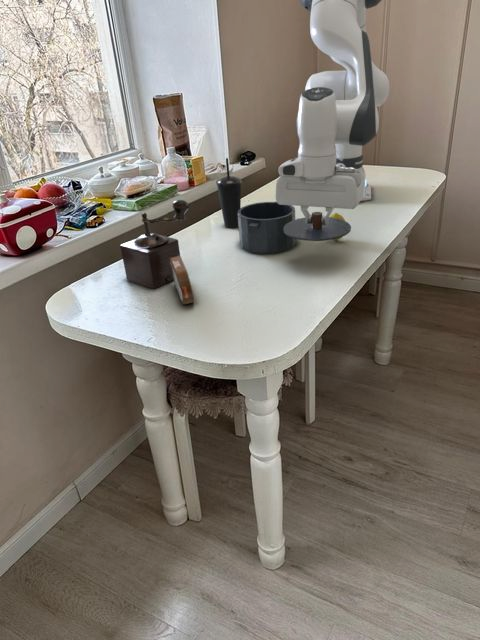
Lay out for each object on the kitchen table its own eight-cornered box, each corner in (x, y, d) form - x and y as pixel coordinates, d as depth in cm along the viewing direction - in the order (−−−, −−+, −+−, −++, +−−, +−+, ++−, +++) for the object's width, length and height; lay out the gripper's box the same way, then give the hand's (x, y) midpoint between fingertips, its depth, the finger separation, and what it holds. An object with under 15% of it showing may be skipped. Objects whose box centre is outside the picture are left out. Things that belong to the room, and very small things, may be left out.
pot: (227, 255, 145) (224, 221, 140) (255, 229, 162) (253, 197, 157) (282, 260, 140) (281, 225, 135) (305, 232, 157) (304, 200, 152)
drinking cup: (230, 220, 170) (224, 154, 159) (249, 223, 166) (245, 156, 155) (215, 227, 165) (208, 160, 154) (234, 231, 161) (229, 162, 150)
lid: (274, 240, 129) (273, 222, 127) (295, 218, 142) (294, 201, 140) (342, 246, 124) (342, 226, 121) (357, 223, 137) (357, 205, 134)
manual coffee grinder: (155, 290, 128) (142, 217, 119) (125, 280, 134) (111, 209, 125) (200, 268, 139) (191, 198, 129) (170, 259, 145) (160, 192, 135)
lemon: (344, 245, 147) (345, 216, 143) (324, 244, 148) (324, 216, 144) (346, 237, 152) (347, 210, 147) (326, 237, 153) (326, 209, 148)
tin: (196, 308, 119) (191, 274, 115) (182, 311, 119) (176, 276, 114) (185, 282, 132) (180, 249, 127) (172, 284, 131) (167, 251, 126)
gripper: (364, 164, 124) (361, 222, 131) (280, 161, 130) (282, 216, 138) (358, 171, 119) (356, 231, 126) (272, 167, 125) (274, 224, 133)
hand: (316, 223), depth 132 cm, fingers closed on lid, 2 cm apart
